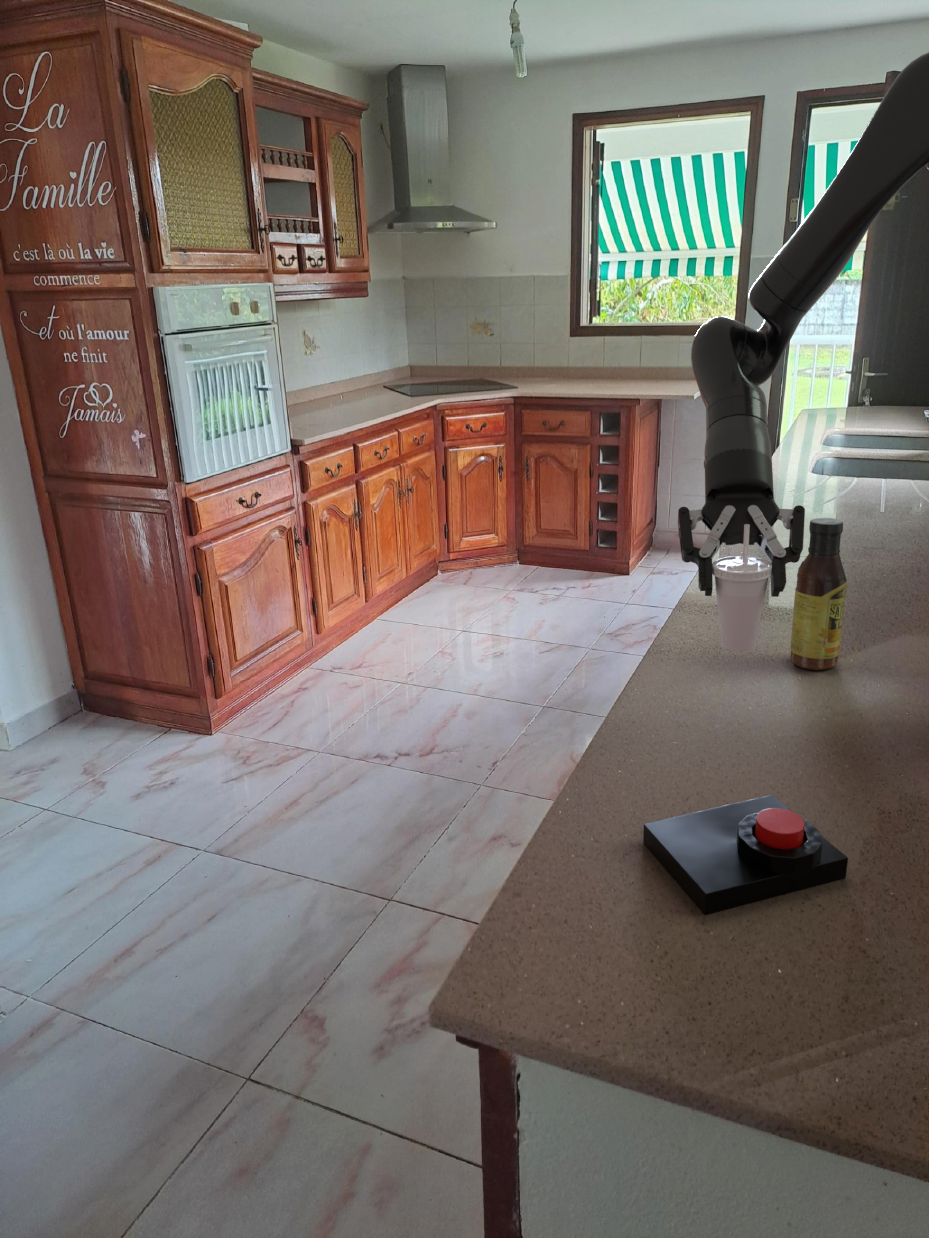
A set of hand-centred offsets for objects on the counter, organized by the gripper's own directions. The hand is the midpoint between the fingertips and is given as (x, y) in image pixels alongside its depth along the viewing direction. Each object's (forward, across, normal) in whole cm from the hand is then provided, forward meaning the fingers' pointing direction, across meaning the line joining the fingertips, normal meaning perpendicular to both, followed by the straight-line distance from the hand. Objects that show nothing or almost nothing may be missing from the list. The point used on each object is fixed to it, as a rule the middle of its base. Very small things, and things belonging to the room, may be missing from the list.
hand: (742, 593), depth 96 cm
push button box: (+29, -1, -4) cm, 30 cm away
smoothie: (+4, 0, +6) cm, 7 cm away
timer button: (+28, +2, -8) cm, 29 cm away
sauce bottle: (-3, +12, +29) cm, 31 cm away
